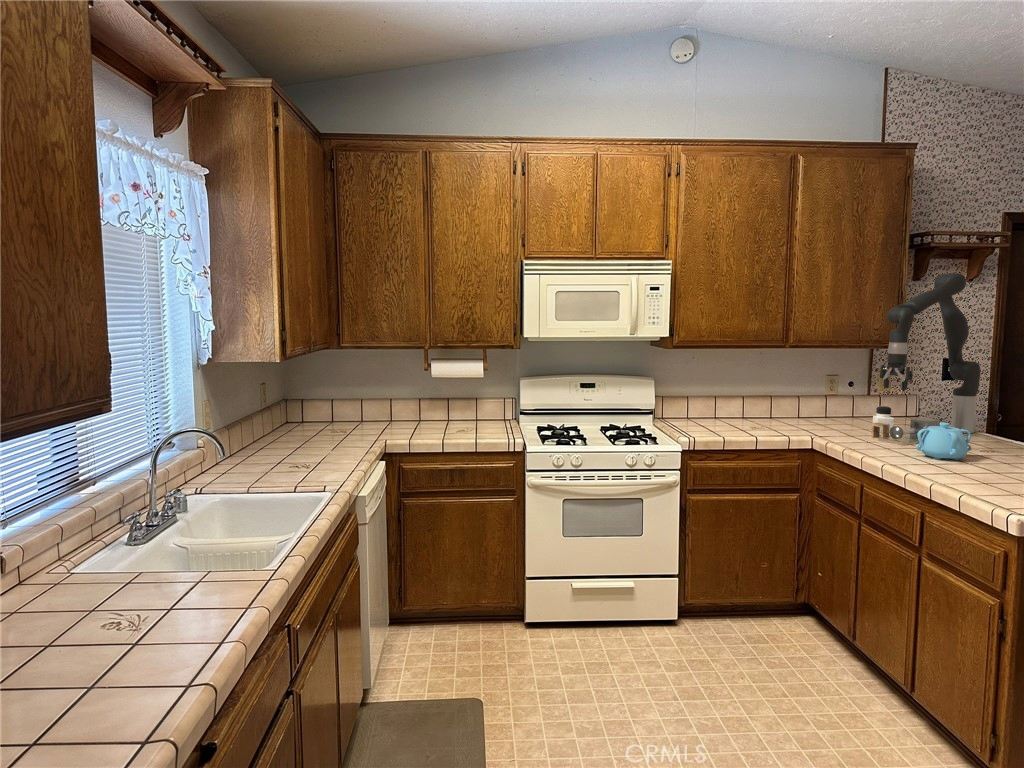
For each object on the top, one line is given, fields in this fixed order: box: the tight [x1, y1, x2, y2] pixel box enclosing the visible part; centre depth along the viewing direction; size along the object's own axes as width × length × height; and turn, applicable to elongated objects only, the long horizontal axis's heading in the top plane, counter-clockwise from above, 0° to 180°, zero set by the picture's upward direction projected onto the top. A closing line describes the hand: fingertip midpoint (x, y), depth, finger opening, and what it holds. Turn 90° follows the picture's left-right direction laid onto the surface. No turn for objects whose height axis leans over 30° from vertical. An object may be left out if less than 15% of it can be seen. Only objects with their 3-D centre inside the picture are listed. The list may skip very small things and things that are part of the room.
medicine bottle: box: [872, 405, 895, 434], centre depth 315 cm, size 7×7×12 cm
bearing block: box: [877, 417, 941, 446], centre depth 293 cm, size 26×12×9 cm, turn 111°
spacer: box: [870, 422, 890, 439], centre depth 300 cm, size 4×6×7 cm
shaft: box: [889, 425, 923, 439], centre depth 293 cm, size 18×6×6 cm, turn 112°
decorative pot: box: [915, 422, 972, 461], centre depth 259 cm, size 16×16×14 cm
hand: (894, 389), depth 298 cm, fingers open, 8 cm apart
